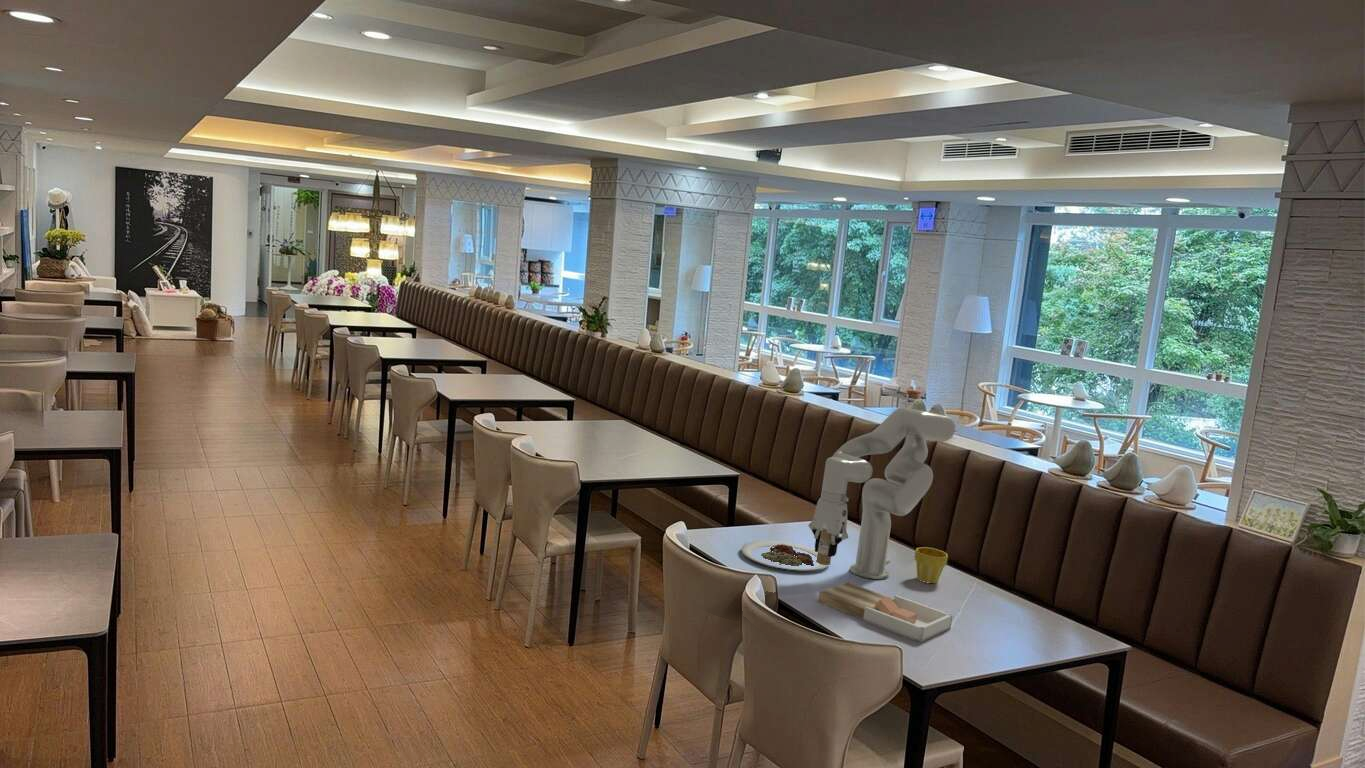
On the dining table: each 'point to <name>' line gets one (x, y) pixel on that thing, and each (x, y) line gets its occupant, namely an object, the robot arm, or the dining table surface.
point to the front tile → (905, 615)
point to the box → (923, 629)
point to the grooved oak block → (850, 599)
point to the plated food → (783, 554)
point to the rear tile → (886, 605)
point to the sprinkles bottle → (824, 547)
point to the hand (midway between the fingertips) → (824, 553)
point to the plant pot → (930, 563)
